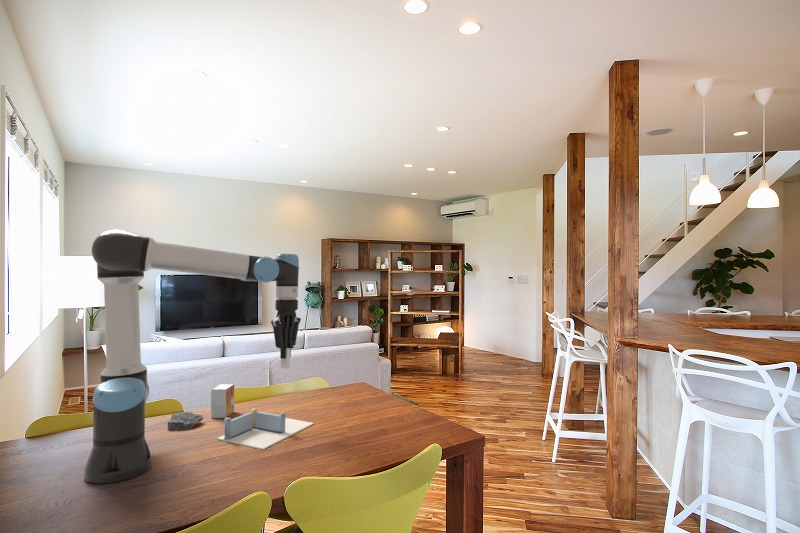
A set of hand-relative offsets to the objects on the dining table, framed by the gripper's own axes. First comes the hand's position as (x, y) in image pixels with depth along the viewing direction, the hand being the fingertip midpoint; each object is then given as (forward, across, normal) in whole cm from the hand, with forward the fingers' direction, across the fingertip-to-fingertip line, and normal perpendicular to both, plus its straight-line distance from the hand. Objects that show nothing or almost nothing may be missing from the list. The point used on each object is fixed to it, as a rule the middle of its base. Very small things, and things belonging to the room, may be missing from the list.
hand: (285, 367), depth 151 cm
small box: (+21, +1, +30) cm, 36 cm away
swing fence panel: (+20, -5, +3) cm, 21 cm away
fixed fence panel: (+21, -12, +9) cm, 25 cm away
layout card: (+21, -5, +3) cm, 21 cm away
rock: (+21, -13, +33) cm, 41 cm away
